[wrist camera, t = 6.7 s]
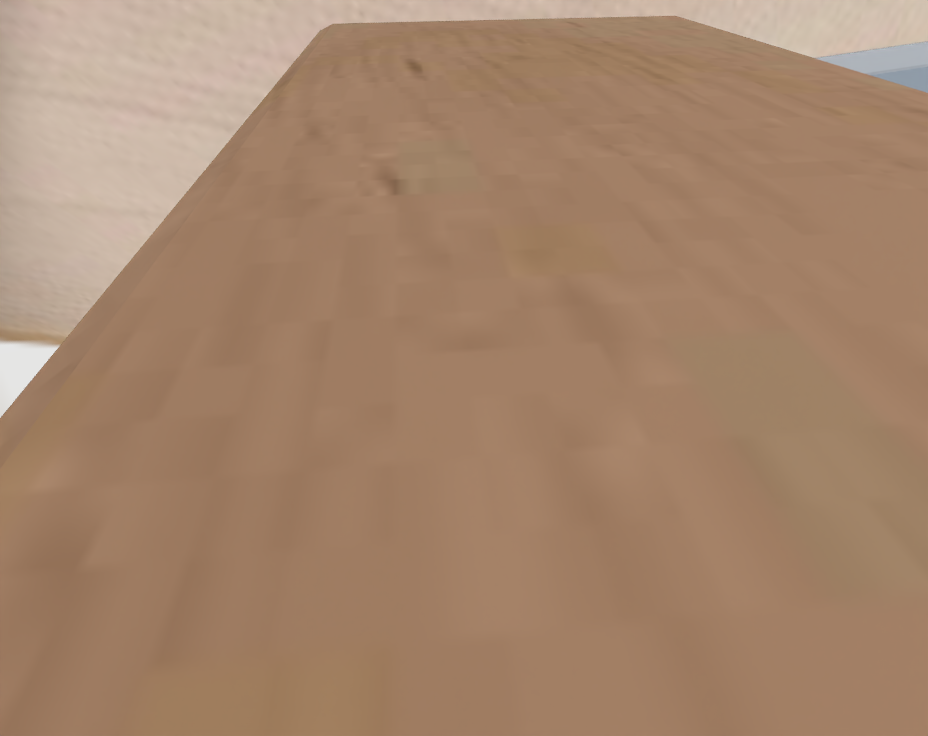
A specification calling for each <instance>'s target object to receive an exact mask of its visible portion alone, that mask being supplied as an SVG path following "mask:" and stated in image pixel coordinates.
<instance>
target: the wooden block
mask: <svg viewBox="0 0 928 736" xmlns="http://www.w3.org/2000/svg"><path fill="white" fill-rule="evenodd" d="M0 736H928V93H927V92H923V91H920V90H917V89H913V88H910V87H907V86H904V85H900V84H897V83H894V82H890V81H887V80H884V79H881V78H877V77H874V76H871V75H867V74H864V73H861V72H858V71H854V70H851V69H848V68H845V67H841V66H838V65H835V64H831V63H828V62H825V61H822V60H818V59H815V58H812V57H808V56H805V55H802V54H799V53H795V52H792V51H789V50H786V49H782V48H779V47H776V46H772V45H769V44H766V43H763V42H759V41H756V40H753V39H749V38H746V37H743V36H740V35H736V34H733V33H730V32H727V31H723V30H720V29H717V28H713V27H710V26H707V25H704V24H700V23H697V22H694V21H690V20H687V19H684V18H681V17H677V16H651V17H608V18H565V19H522V20H478V21H435V22H392V23H348V24H332V25H330V26H328V27H326V28H325V29H323V30H321V31H320V32H319V33H318V34H317V35H316V36H315V38H314V39H313V40H312V41H311V42H310V44H309V45H308V46H307V47H306V49H305V50H304V51H303V52H302V53H301V55H300V56H299V57H298V58H297V59H296V61H295V62H294V63H293V64H292V65H291V67H290V68H289V69H288V70H287V72H286V73H285V74H284V75H283V76H282V78H281V79H280V80H279V81H278V82H277V84H276V85H275V86H274V87H273V89H272V90H271V91H270V92H269V93H268V95H267V96H266V97H265V98H264V99H263V101H262V102H261V103H260V104H259V105H258V107H257V108H256V109H255V110H254V112H253V113H252V114H251V115H250V116H249V118H248V119H247V120H246V121H245V122H244V124H243V125H242V126H241V127H240V128H239V130H238V131H237V132H236V133H235V135H234V136H233V137H232V138H231V139H230V141H229V142H228V143H227V144H226V145H225V147H224V148H223V149H222V150H221V151H220V153H219V154H218V155H217V156H216V158H215V159H214V160H213V161H212V162H211V164H210V165H209V166H208V167H207V168H206V170H205V171H204V172H203V173H202V175H201V176H200V177H199V178H198V179H197V181H196V182H195V183H194V184H193V185H192V187H191V188H190V189H189V190H188V191H187V193H186V194H185V195H184V196H183V198H182V199H181V200H180V201H179V202H178V204H177V205H176V206H175V207H174V208H173V210H172V211H171V212H170V213H169V214H168V216H167V217H166V218H165V219H164V221H163V222H162V223H161V224H160V225H159V227H158V228H157V229H156V230H155V231H154V233H153V234H152V235H151V236H150V238H149V239H148V240H147V241H146V242H145V244H144V245H143V246H142V247H141V248H140V250H139V251H138V252H137V253H136V254H135V256H134V257H133V258H132V259H131V261H130V262H129V263H128V264H127V265H126V267H125V268H124V269H123V270H122V271H121V273H120V274H119V275H118V276H117V277H116V279H115V280H114V281H113V282H112V284H111V285H110V286H109V287H108V288H107V290H106V291H105V292H104V293H103V294H102V296H101V297H100V298H99V299H98V301H97V302H96V303H95V304H94V305H93V307H92V308H91V309H90V310H89V311H88V313H87V314H86V315H85V316H84V317H83V319H82V320H81V321H80V322H79V324H78V325H77V326H76V327H75V328H74V330H73V331H72V332H71V333H70V334H69V336H68V337H67V338H66V339H65V340H64V342H63V343H62V344H61V345H60V347H59V348H58V349H57V350H56V351H55V353H54V354H53V355H52V356H51V357H50V359H49V360H48V361H47V362H46V364H45V365H44V366H43V367H42V368H41V370H40V371H39V372H38V373H37V374H36V376H35V377H34V378H33V380H32V381H31V382H30V383H29V384H28V385H27V387H26V388H25V389H24V390H23V391H22V393H21V394H20V395H19V396H18V397H17V399H16V400H15V401H14V402H13V404H12V405H11V406H10V407H9V408H8V410H7V411H6V412H5V413H4V414H3V416H2V417H1V418H0Z"/></svg>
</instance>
